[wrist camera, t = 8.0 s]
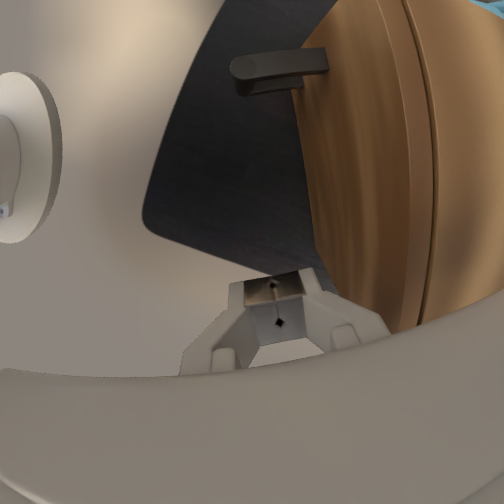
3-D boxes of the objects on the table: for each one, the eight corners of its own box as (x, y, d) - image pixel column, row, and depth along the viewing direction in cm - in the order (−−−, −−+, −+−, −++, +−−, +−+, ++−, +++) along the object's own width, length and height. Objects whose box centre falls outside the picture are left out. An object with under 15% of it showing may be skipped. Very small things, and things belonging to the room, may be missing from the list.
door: (269, 256, 34) (295, 413, 15) (232, 76, 25) (205, -25, 5) (324, 246, 34) (398, 386, 14) (296, 66, 24) (390, -25, 5)
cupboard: (325, 245, 34) (402, 387, 14) (297, 66, 24) (395, -26, 5) (427, 224, 33) (534, 316, 13) (415, 67, 23) (556, 56, 3)
